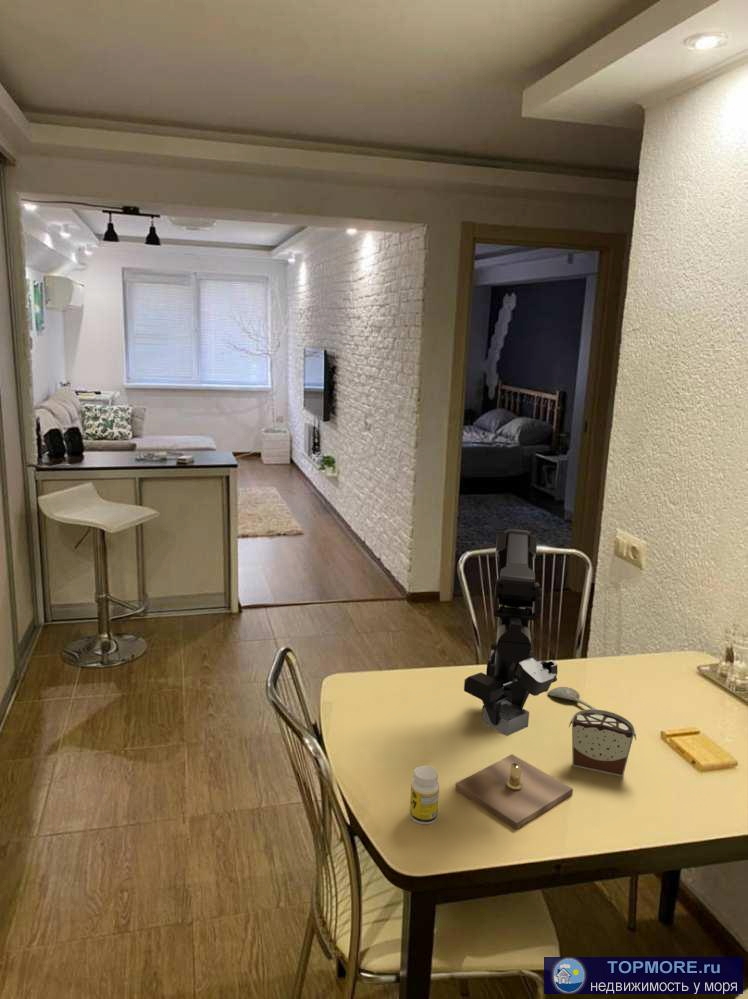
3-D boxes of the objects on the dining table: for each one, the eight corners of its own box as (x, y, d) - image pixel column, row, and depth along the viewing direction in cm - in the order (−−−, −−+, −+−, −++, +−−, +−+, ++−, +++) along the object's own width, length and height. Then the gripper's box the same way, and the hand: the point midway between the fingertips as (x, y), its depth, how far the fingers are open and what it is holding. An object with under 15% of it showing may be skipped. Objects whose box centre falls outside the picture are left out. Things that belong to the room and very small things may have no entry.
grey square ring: (503, 714, 140) (504, 699, 140) (528, 726, 136) (529, 711, 135) (482, 722, 136) (483, 708, 136) (507, 736, 132) (508, 720, 131)
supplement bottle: (407, 807, 126) (410, 764, 124) (434, 807, 127) (437, 763, 125) (411, 825, 122) (414, 780, 120) (439, 825, 122) (442, 780, 120)
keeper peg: (513, 779, 134) (514, 760, 133) (525, 786, 131) (527, 767, 131) (503, 785, 132) (505, 765, 131) (515, 792, 130) (517, 772, 129)
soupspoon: (562, 691, 174) (541, 698, 171) (562, 678, 173) (541, 684, 170) (635, 731, 155) (613, 740, 152) (636, 716, 155) (614, 725, 151)
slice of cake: (631, 761, 143) (637, 715, 141) (631, 778, 138) (637, 730, 135) (567, 748, 147) (572, 702, 145) (564, 764, 141) (569, 717, 139)
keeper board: (511, 759, 142) (512, 754, 142) (572, 794, 132) (573, 788, 132) (455, 789, 132) (455, 783, 132) (516, 829, 122) (516, 823, 121)
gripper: (513, 668, 121) (506, 754, 124) (579, 644, 133) (571, 723, 136) (464, 646, 129) (459, 727, 132) (530, 626, 141) (524, 700, 144)
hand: (505, 719), depth 136 cm, fingers closed on grey square ring, 6 cm apart
